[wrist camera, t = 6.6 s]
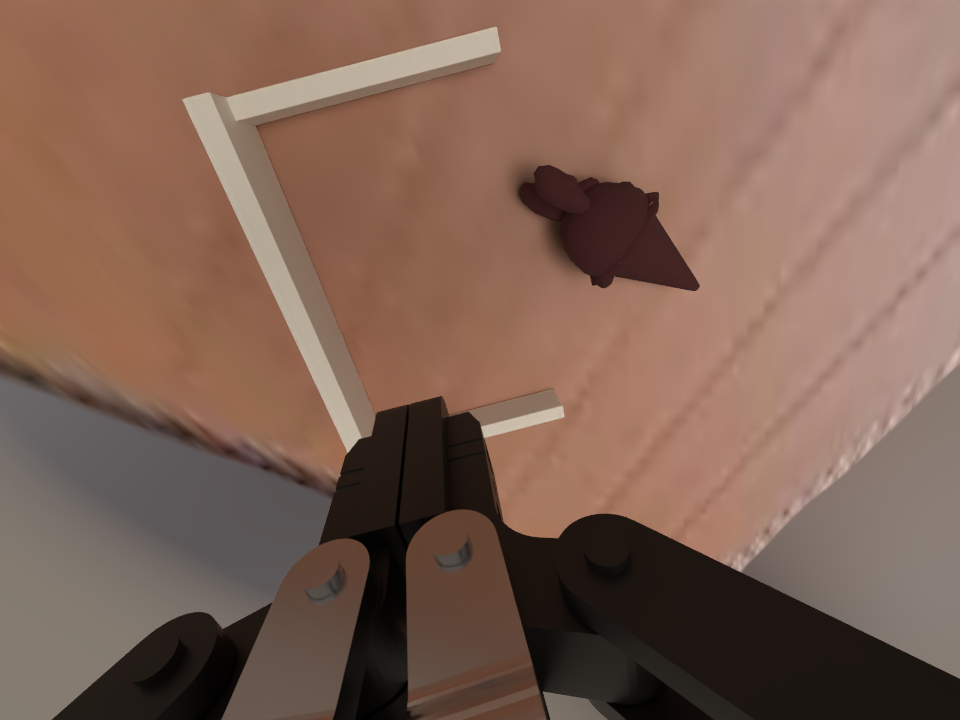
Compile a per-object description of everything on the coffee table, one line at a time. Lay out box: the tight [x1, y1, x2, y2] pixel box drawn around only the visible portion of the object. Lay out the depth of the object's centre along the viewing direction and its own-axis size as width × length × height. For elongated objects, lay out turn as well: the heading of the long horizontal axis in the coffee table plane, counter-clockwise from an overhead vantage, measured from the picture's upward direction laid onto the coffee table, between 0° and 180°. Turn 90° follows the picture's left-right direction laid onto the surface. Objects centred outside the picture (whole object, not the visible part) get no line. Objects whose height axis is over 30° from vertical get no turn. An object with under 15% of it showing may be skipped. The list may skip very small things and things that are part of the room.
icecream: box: [519, 165, 700, 291], centre depth 29 cm, size 7×7×15 cm
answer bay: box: [182, 26, 564, 452], centre depth 30 cm, size 18×27×5 cm, turn 13°
